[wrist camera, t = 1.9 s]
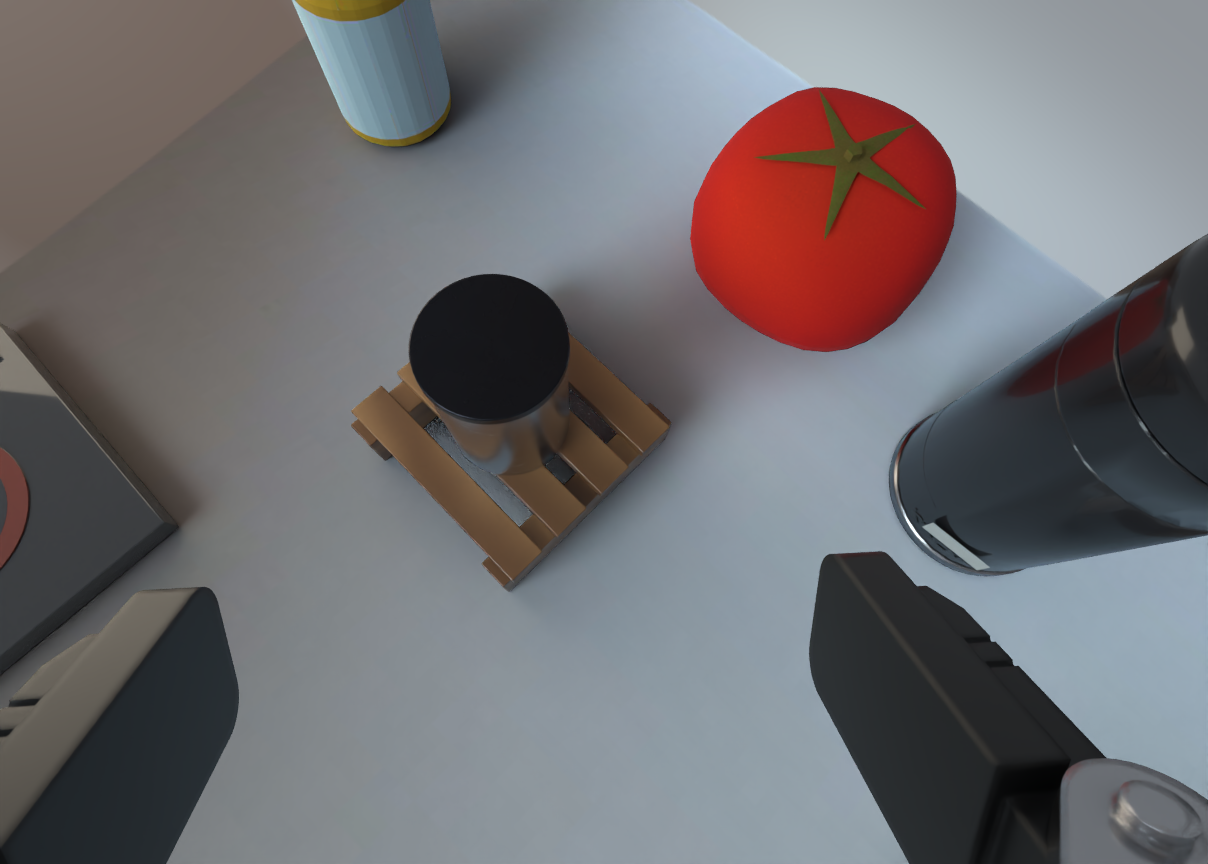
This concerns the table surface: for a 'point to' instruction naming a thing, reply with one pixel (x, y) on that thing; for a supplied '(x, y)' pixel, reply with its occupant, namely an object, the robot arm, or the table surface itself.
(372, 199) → the table surface
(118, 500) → the stove
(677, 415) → the table surface
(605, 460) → the wooden pallet
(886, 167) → the tomato
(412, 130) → the bottle
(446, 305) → the metal canister
